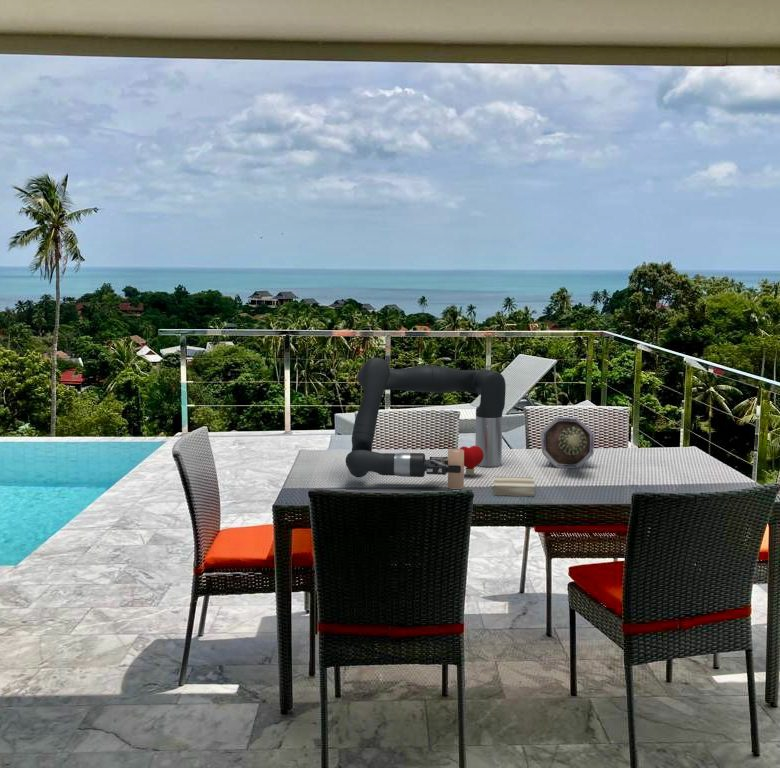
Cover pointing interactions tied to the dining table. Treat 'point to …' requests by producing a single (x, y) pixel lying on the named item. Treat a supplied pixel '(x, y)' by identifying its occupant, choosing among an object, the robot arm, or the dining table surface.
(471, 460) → the red heart
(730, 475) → the dining table surface
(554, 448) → the potted plant
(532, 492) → the base slab
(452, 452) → the tall pink cylinder
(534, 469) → the dining table surface
